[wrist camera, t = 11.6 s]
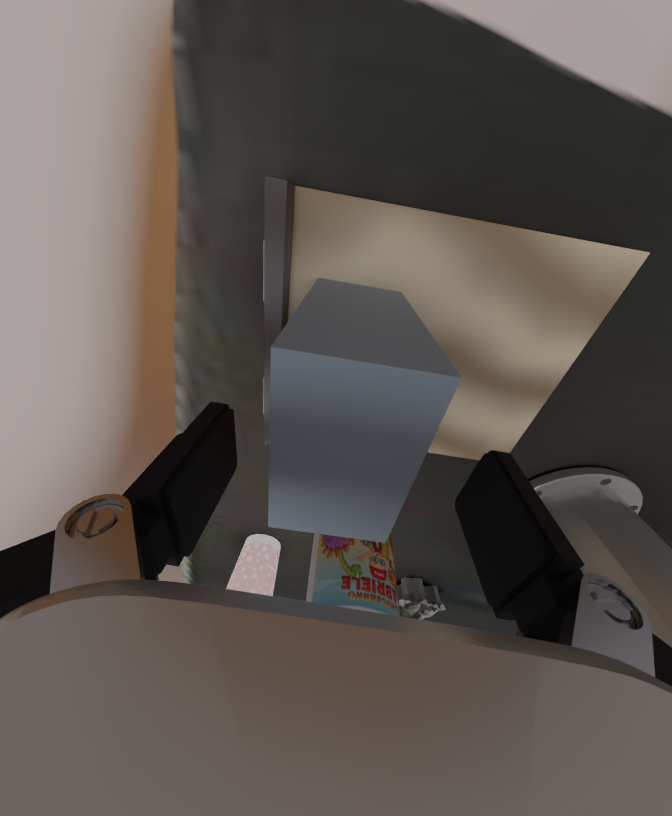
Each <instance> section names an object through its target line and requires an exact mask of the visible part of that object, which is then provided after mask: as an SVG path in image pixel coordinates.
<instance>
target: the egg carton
mask: <svg viewBox="0 0 672 816" xmlns="http://www.w3.org/2000/svg"><path fill="white" fill-rule="evenodd" d="M397 593H398V603H399V606H400V605H401V607H399V613H400V616H401V617H407V618H413V619H419V620H422V619H424V618H426V617H431V616H432V615H434V614H435V613H436V612H437V611H439V610H440V612H441V611H442V610H447V609H445V606H444V605H442V604H441V601H440V597H439V592H438V587H436V586H423V580H422V579H420V578H407V577H404V578H402V579H401V584H400V585H397Z"/></svg>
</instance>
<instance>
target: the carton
mask: <svg viewBox="0 0 672 816" xmlns="http://www.w3.org/2000/svg"><path fill="white" fill-rule="evenodd" d="M461 378H462V377H461V376H460V375H459V373H458V372H457V370H456V369H455V367H454V366H453V365H452V363H451V362H450V360H449V359H448V358H447V356H446V355H445V353H444V352H443V350H442V349H441V348H440V346H439V345H438V343H437V342H436V340H435V339H434V338H433V336H432V335H431V333H430V332H429V330H428V329H427V328H426V326H425V325H424V323H423V322H422V321H421V319H420V318H419V316H418V315H417V313H416V312H415V311H414V309H413V308H412V306H411V305H410V303H409V302H408V301H407V299H406V298H405V296H404V295H403V294H402V292H399V291H393V290H387V289H381V288H376V287H370V286H364V285H358V284H352V283H346V282H341V281H335V280H329V279H323V278H318V279H317V280H316V282H315V283H314V285H313V286H312V288H311V289H310V291H309V292H308V293H307V295H306V296H305V298H304V299H303V301H302V302H301V304H300V305H299V307H298V308H297V309H296V311H295V312H294V314H293V315H292V317H291V318H290V320H289V321H288V322H287V324H286V325H285V327H284V328H283V330H282V331H281V333H280V334H279V336H278V337H277V338H276V340H275V341H274V343H273V344H272V346H271V364H270V439H269V514H268V527H273V528H281V529H288V530H295V531H302V532H310V533H317V534H324V535H331V536H339V537H346V538H353V539H360V540H368V541H375V542H382V543H386V541H387V539H388V536H389V534H390V532H391V530H392V528H393V526H394V523H395V521H396V519H397V517H398V515H399V513H400V510H401V508H402V506H403V504H404V502H405V500H406V497H407V495H408V493H409V491H410V489H411V487H412V484H413V482H414V480H415V478H416V476H417V474H418V471H419V469H420V467H421V465H422V463H423V461H424V458H425V456H426V454H427V452H428V450H429V448H430V445H431V443H432V441H433V439H434V437H435V435H436V432H437V430H438V428H439V426H440V424H441V422H442V419H443V417H444V415H445V413H446V411H447V409H448V406H449V404H450V402H451V400H452V398H453V396H454V393H455V391H456V389H457V387H458V385H459V383H460V380H461Z"/></svg>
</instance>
